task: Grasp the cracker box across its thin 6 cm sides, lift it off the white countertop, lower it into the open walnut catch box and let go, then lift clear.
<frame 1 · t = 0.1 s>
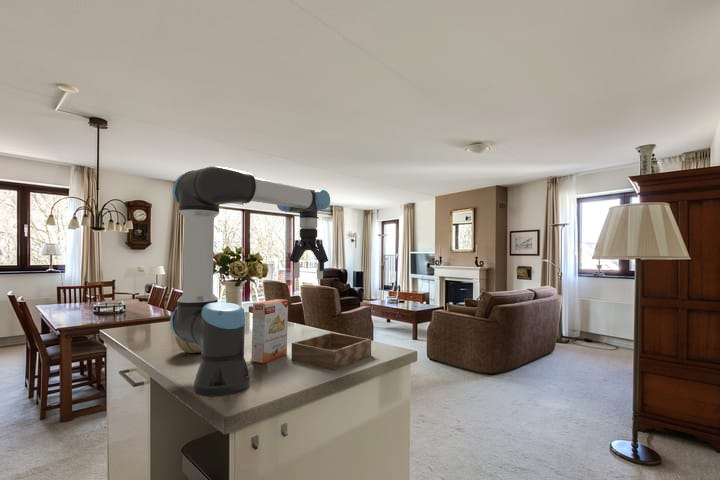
hand: (308, 278, 152), 28 cm above the table, fingers open, 13 cm apart
cracker box: (270, 358, 132), on the table
cantaloupe: (196, 353, 139), on the table
catch box: (332, 357, 133), on the table
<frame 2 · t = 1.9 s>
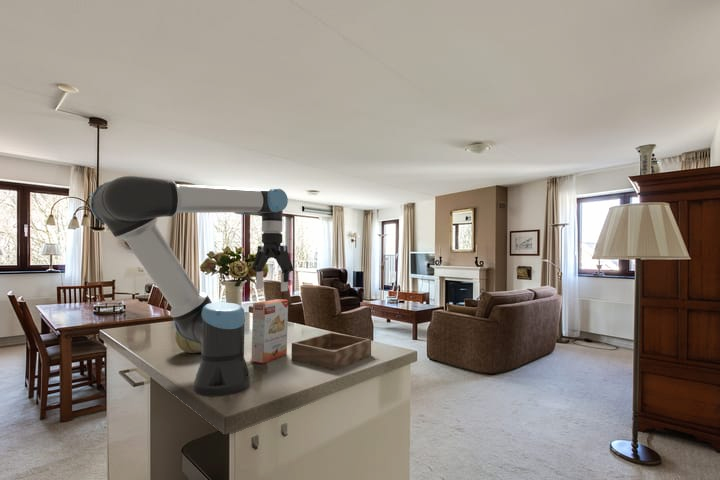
hand: (271, 290, 133), 25 cm above the table, fingers open, 13 cm apart
nothing on the table moved.
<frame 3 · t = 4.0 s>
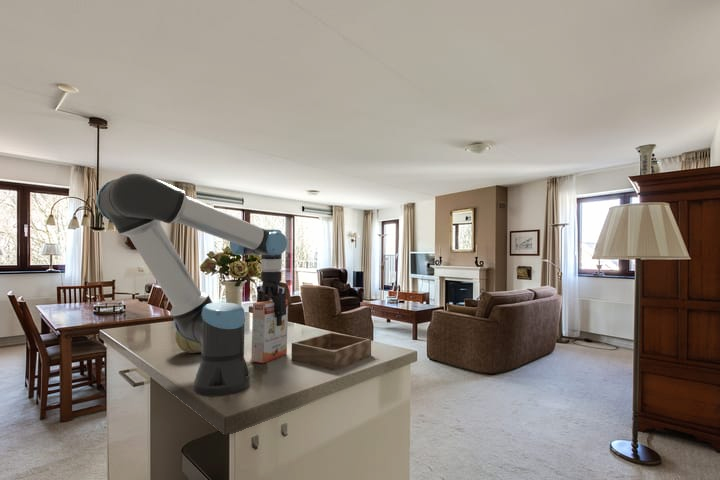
hand: (270, 333, 132), 9 cm above the table, fingers closed on cracker box, 7 cm apart
cracker box: (270, 358, 132), on the table, touching gripper
everything else where it was.
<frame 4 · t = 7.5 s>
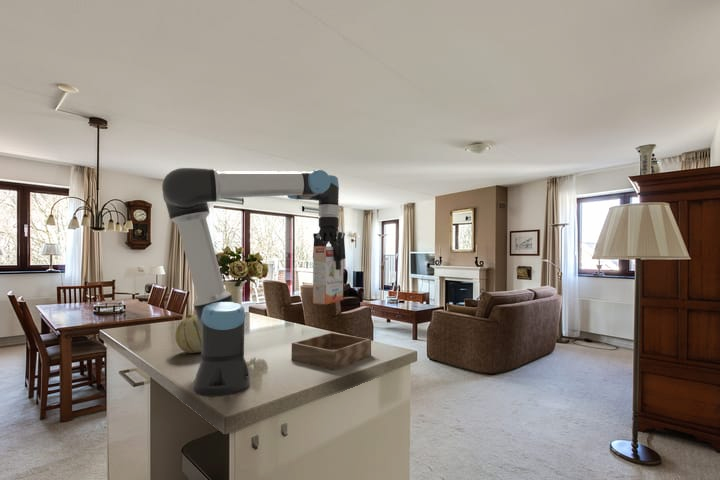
hand: (328, 278, 134), 29 cm above the table, fingers closed on cracker box, 6 cm apart
cracker box: (328, 302, 134), point 20 cm above the table, touching gripper
everything else where it was.
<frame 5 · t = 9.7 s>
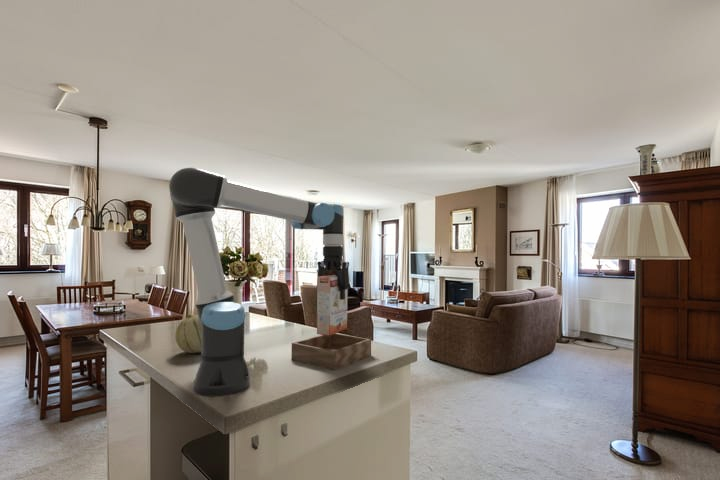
hand: (332, 307, 134), 18 cm above the table, fingers closed on cracker box, 6 cm apart
cracker box: (332, 332, 133), point 9 cm above the table, touching gripper
everything else where it was.
when the fingers open (11 cm above the table, at t = 11.4 s): cracker box drops 2 cm, resting on catch box.
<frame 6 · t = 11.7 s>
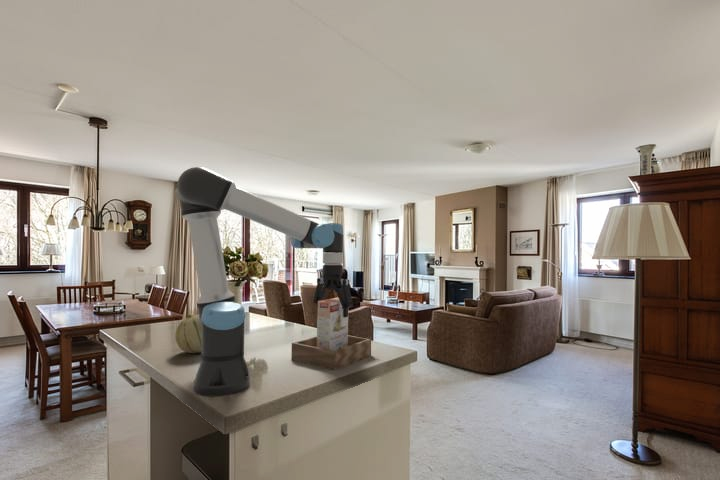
hand: (332, 324, 133), 12 cm above the table, fingers open, 10 cm apart
cracker box: (332, 356, 133), resting on catch box
everything else where it was.
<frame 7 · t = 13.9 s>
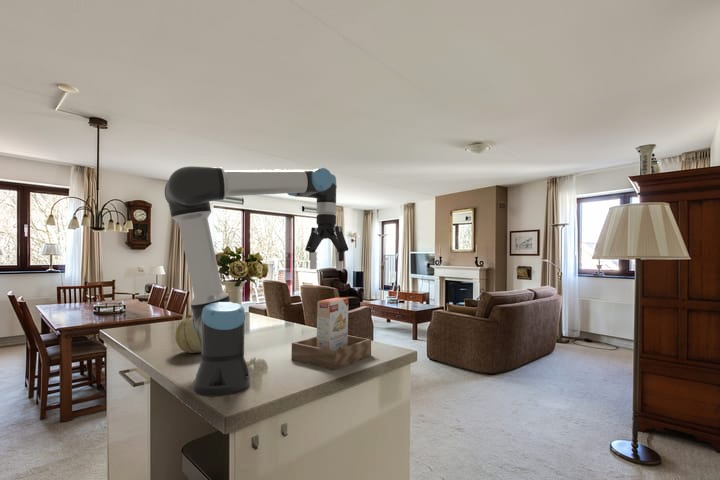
hand: (325, 269, 137), 32 cm above the table, fingers open, 13 cm apart
nothing on the table moved.
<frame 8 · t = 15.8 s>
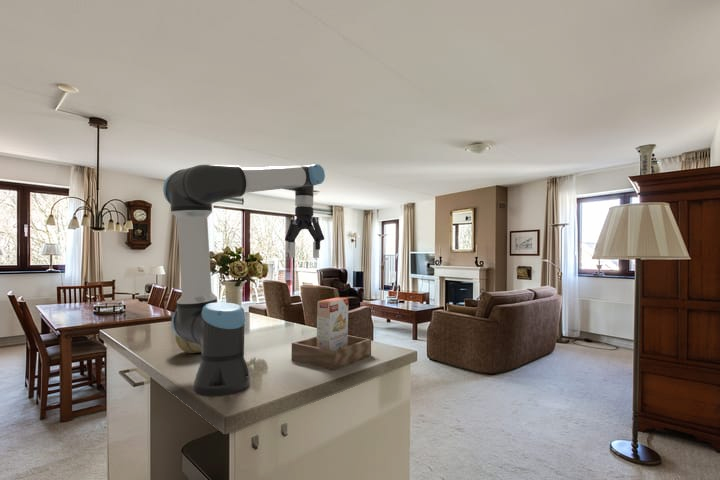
hand: (303, 257, 149), 37 cm above the table, fingers open, 13 cm apart
nothing on the table moved.
at the end: cracker box inside the target area on the catch box (0.3 cm from its centre), point 0.4 cm above the catch box's base; cracker box tilted 0°; the gripper is holding nothing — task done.
